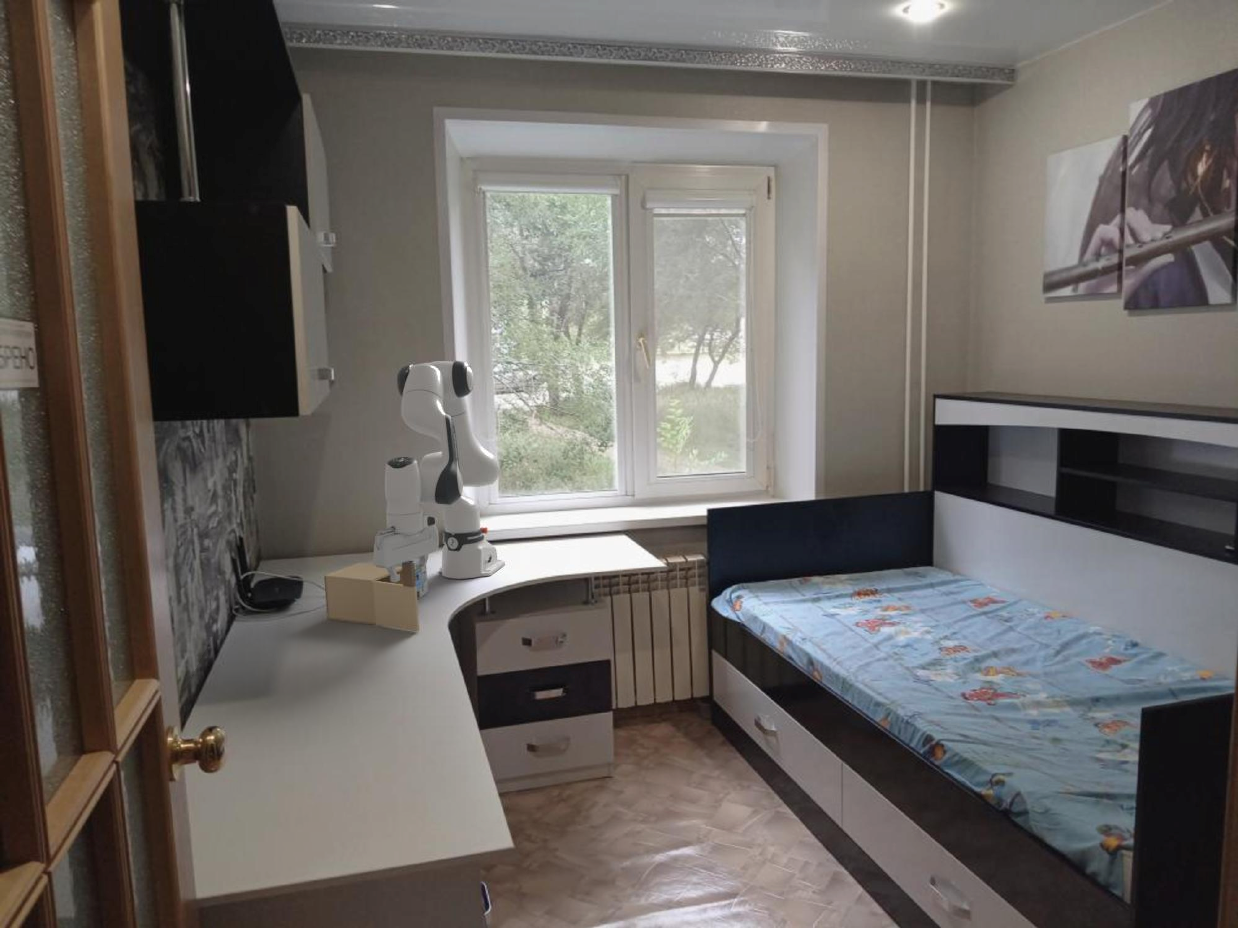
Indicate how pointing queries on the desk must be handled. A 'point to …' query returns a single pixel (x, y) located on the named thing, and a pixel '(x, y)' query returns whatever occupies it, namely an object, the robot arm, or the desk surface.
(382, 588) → the side flap
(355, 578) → the carton
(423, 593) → the light bulb box
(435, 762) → the desk surface
